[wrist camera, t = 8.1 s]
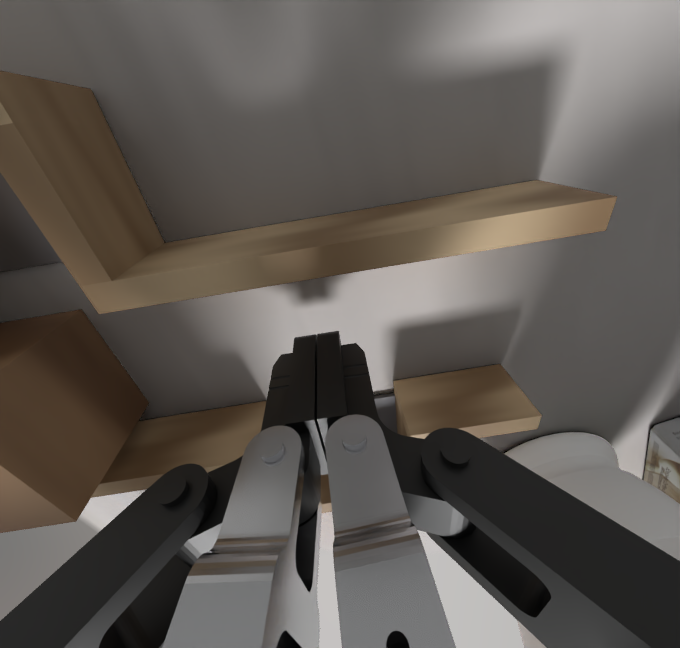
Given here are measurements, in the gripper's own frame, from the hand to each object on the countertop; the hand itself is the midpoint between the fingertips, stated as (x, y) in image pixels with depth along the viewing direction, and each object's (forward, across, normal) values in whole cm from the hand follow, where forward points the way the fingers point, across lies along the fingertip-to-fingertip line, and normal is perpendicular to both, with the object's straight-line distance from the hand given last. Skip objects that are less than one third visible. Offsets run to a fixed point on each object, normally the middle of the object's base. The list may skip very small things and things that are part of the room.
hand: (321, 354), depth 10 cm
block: (+2, +11, 0) cm, 11 cm away
